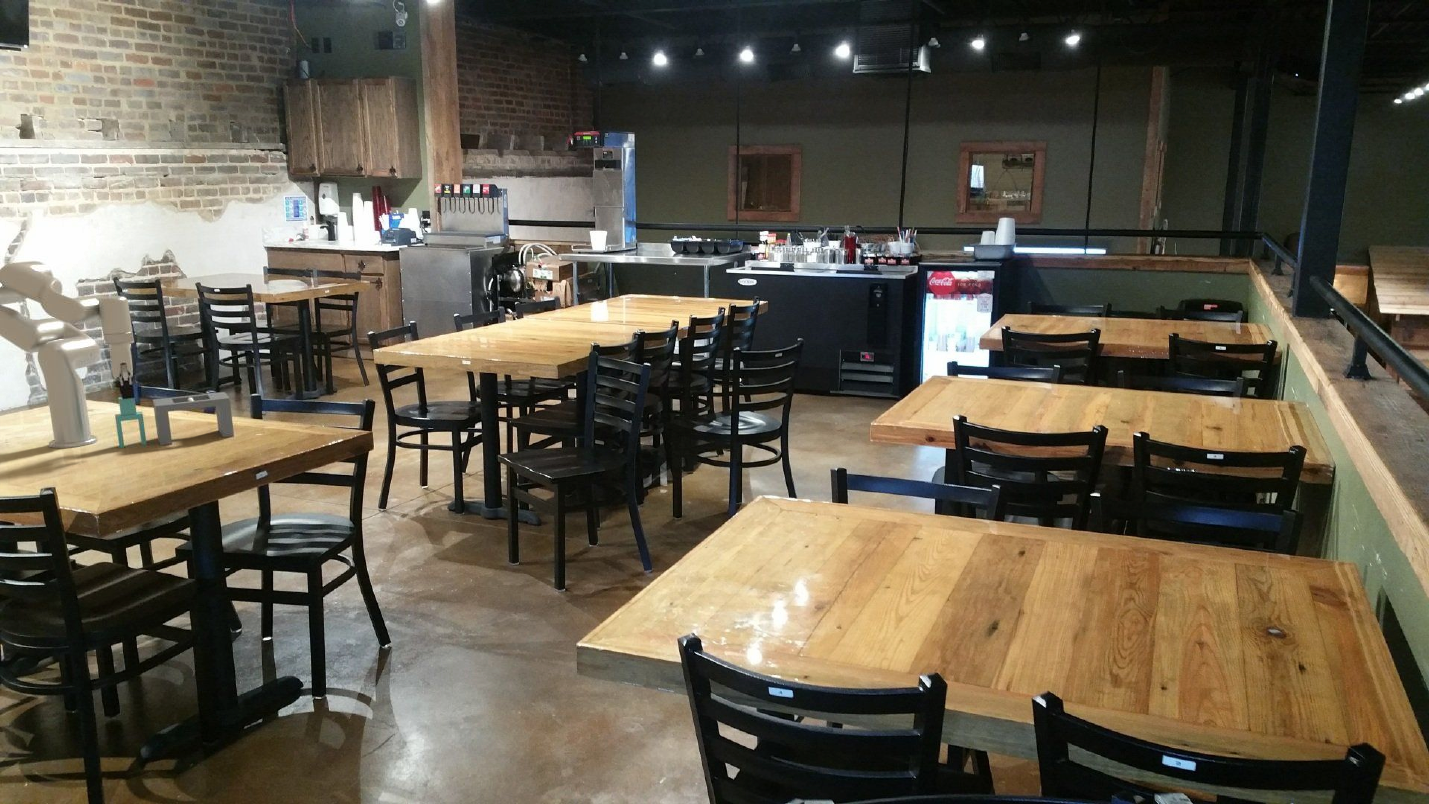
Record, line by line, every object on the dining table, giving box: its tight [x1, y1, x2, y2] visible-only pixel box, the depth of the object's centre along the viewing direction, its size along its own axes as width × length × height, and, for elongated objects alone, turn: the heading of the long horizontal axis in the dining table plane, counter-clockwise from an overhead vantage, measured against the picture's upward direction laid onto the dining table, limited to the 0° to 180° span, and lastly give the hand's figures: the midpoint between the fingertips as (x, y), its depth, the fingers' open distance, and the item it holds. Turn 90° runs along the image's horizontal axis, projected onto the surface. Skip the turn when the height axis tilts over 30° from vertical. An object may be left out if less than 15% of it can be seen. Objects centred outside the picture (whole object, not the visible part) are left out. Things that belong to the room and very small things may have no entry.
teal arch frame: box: [114, 396, 147, 449], centre depth 305 cm, size 4×7×14 cm, turn 122°
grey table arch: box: [152, 391, 235, 446], centre depth 314 cm, size 12×20×12 cm, turn 122°
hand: (127, 396), depth 303 cm, fingers open, 9 cm apart
